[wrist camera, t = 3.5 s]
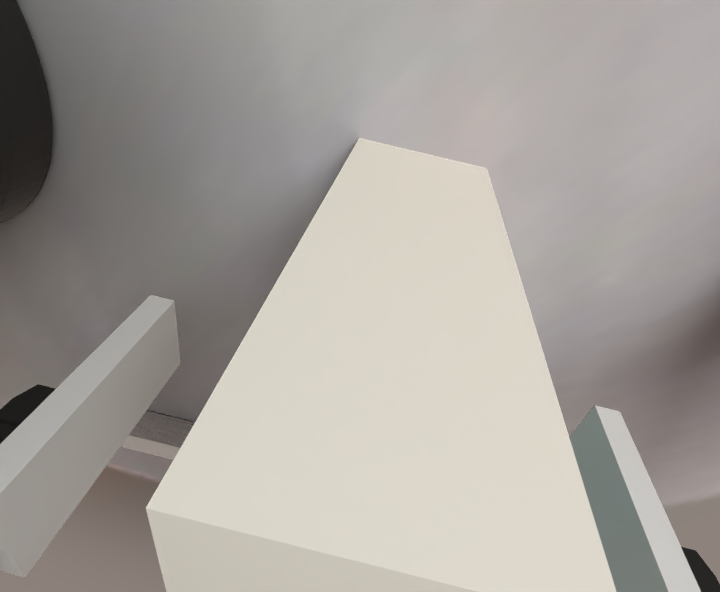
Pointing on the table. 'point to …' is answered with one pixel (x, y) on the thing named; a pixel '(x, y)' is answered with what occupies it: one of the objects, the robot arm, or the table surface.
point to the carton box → (385, 412)
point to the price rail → (158, 435)
